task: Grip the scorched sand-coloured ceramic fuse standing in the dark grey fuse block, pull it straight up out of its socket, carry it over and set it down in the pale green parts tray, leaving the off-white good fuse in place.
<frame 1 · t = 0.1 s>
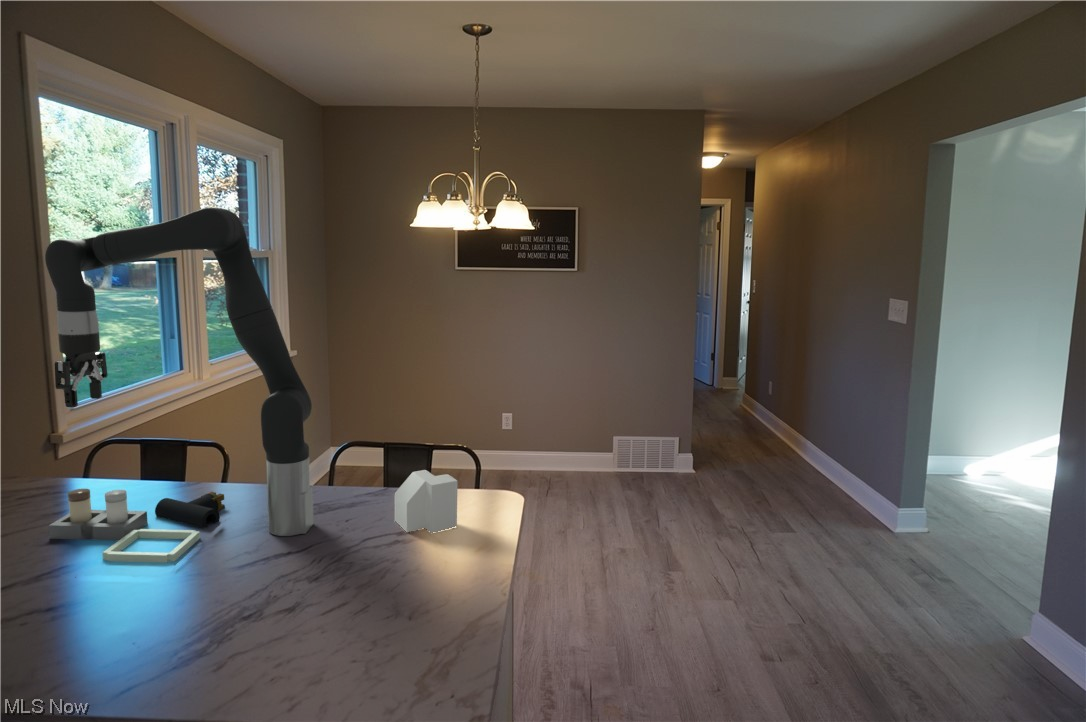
hand: (84, 402, 154), 29 cm above the kitchen island, fingers open, 8 cm apart
parts tray: (153, 552, 146), on the kitchen island
good fuse: (118, 531, 154), point 1 cm above the kitchen island, touching fuse block
blown fuse: (82, 530, 153), point 1 cm above the kitchen island, touching fuse block
pipe connector: (199, 520, 165), on the kitchen island
fuse block: (100, 534, 154), on the kitchen island
pale house-shaped block: (425, 526, 165), on the kitchen island
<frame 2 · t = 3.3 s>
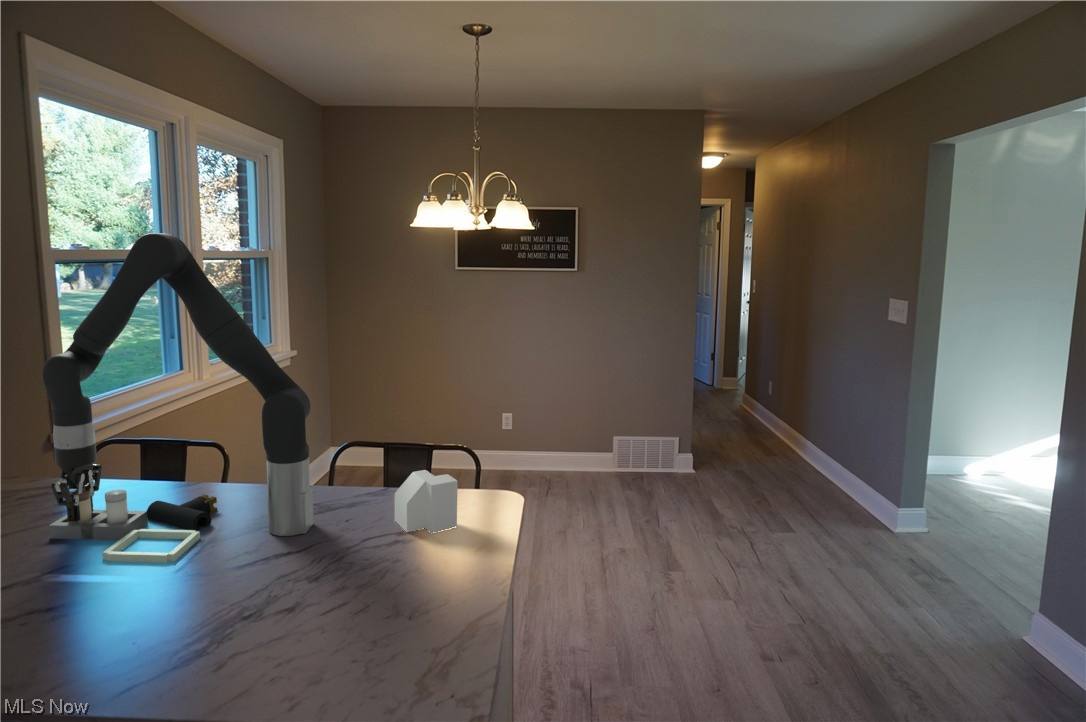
hand: (81, 516, 153), 4 cm above the kitchen island, fingers closed on blown fuse, 4 cm apart
blown fuse: (82, 530, 153), point 1 cm above the kitchen island, touching fuse block, gripper
pipe connector: (191, 523, 163), on the kitchen island
everything else where it was.
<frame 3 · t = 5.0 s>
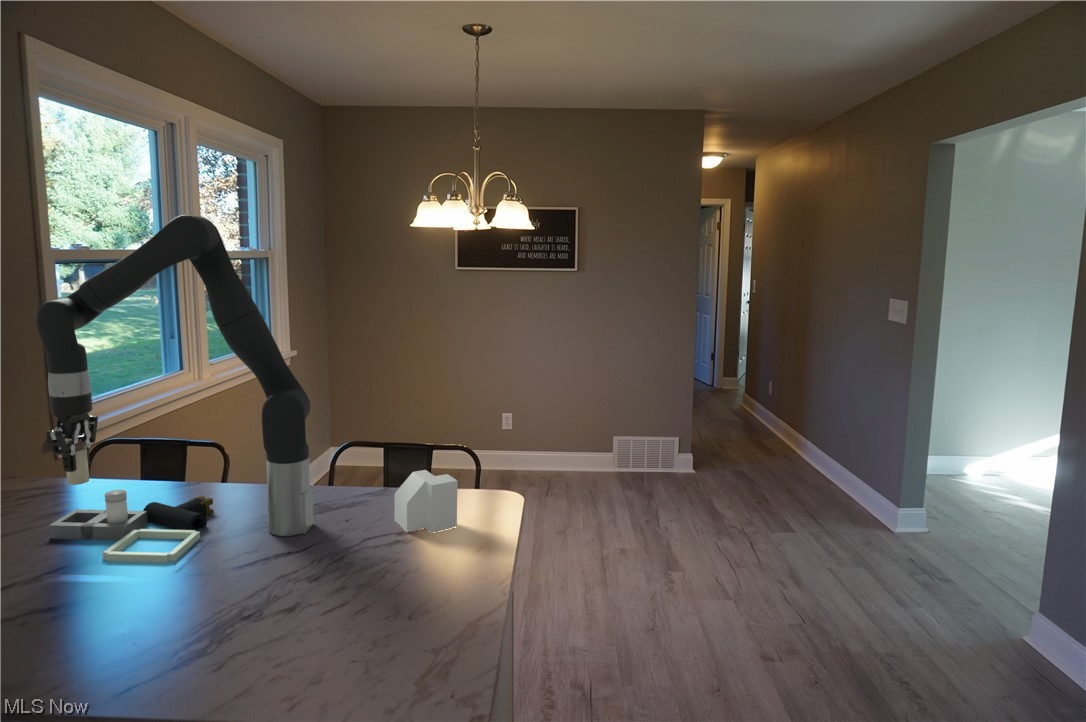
hand: (77, 467, 151), 16 cm above the kitchen island, fingers closed on blown fuse, 4 cm apart
blown fuse: (78, 481, 151), point 12 cm above the kitchen island, touching gripper
pipe connector: (187, 524, 162), on the kitchen island
everything else where it was.
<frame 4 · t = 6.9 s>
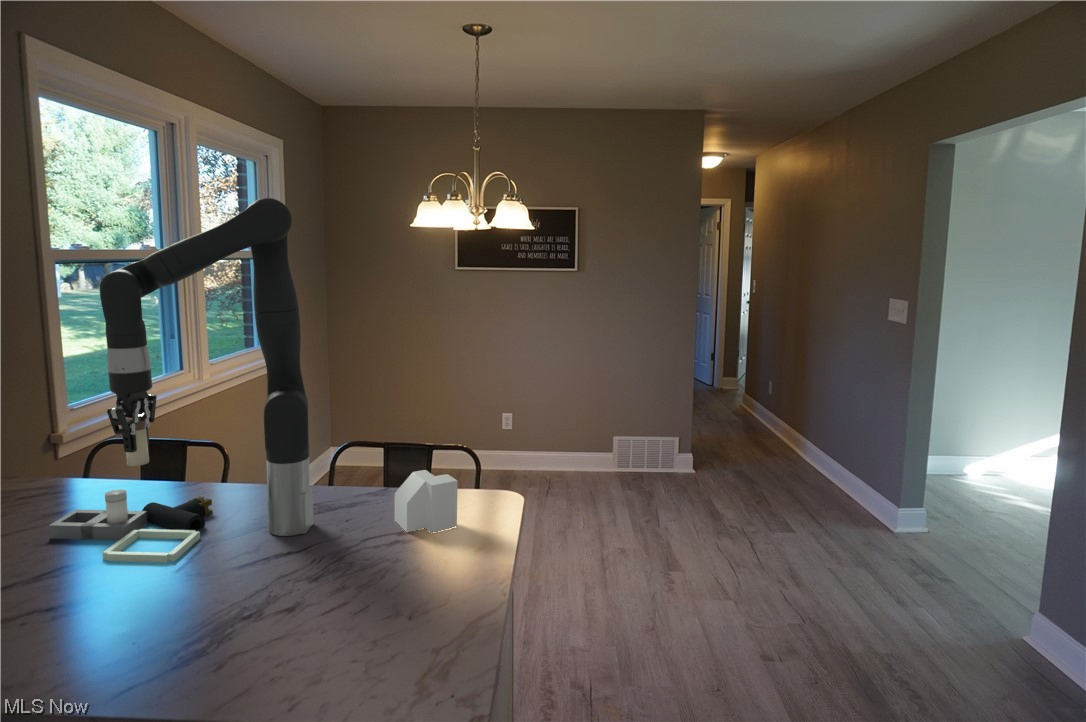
hand: (137, 448, 144), 23 cm above the kitchen island, fingers closed on blown fuse, 4 cm apart
blown fuse: (138, 462, 144), point 19 cm above the kitchen island, touching gripper
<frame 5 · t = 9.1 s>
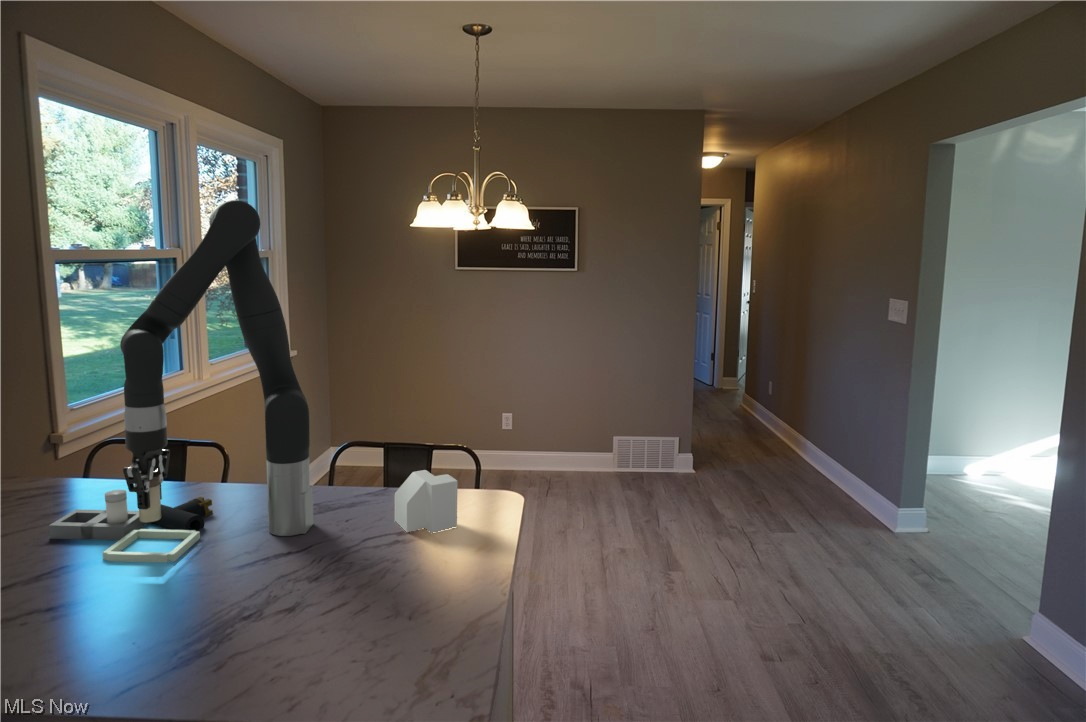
hand: (150, 504, 144), 11 cm above the kitchen island, fingers closed on blown fuse, 4 cm apart
blown fuse: (150, 518, 145), point 8 cm above the kitchen island, touching gripper
everything else where it was.
when the fingers open (6 cm above the kitchen island, at t = 10.8 s): blown fuse drops 2 cm, resting on parts tray.
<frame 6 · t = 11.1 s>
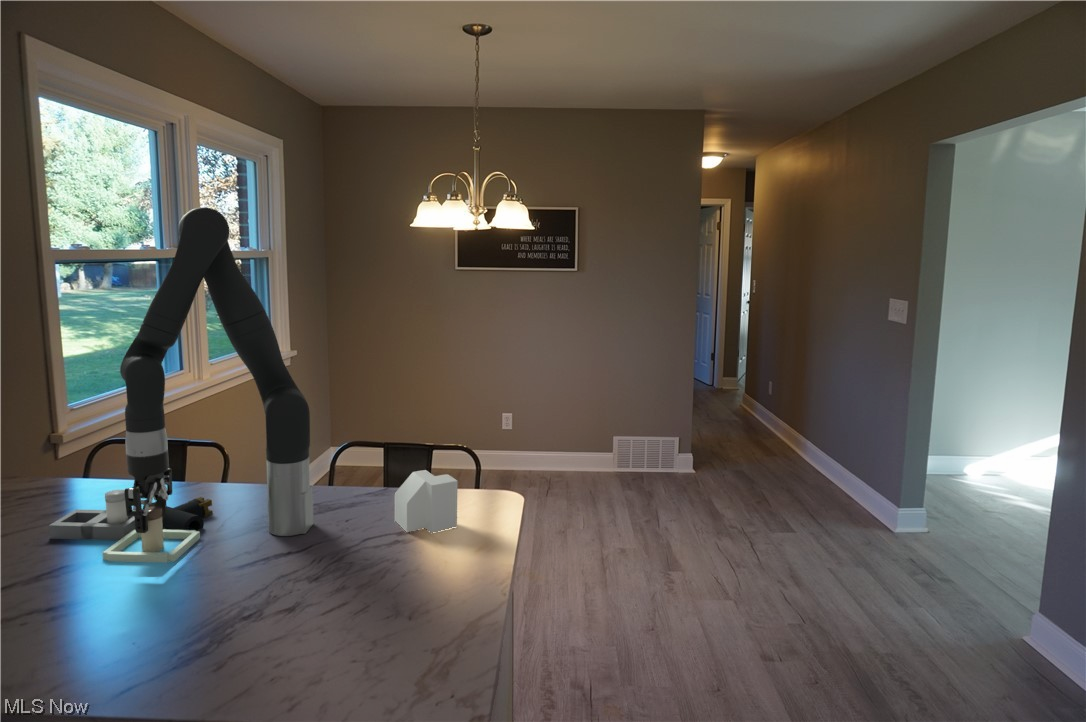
hand: (152, 524, 145), 6 cm above the kitchen island, fingers open, 7 cm apart
blown fuse: (153, 550, 146), point 1 cm above the kitchen island, touching parts tray
everything else where it was.
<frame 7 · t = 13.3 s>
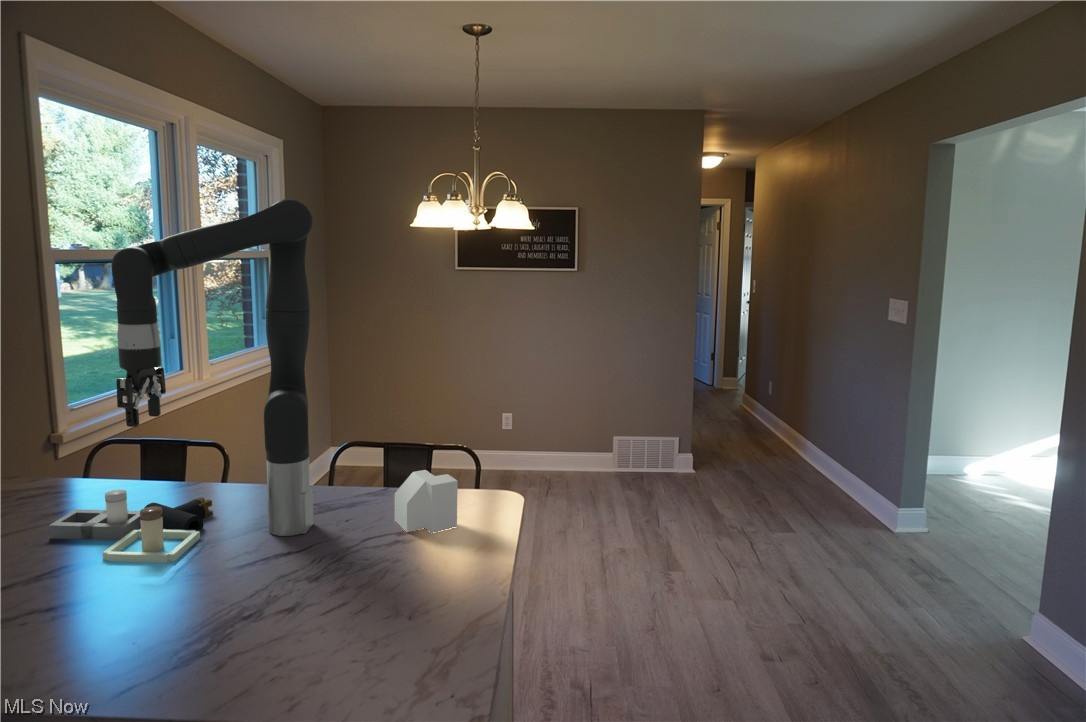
hand: (144, 421, 144), 28 cm above the kitchen island, fingers open, 8 cm apart
nothing on the kitchen island moved.
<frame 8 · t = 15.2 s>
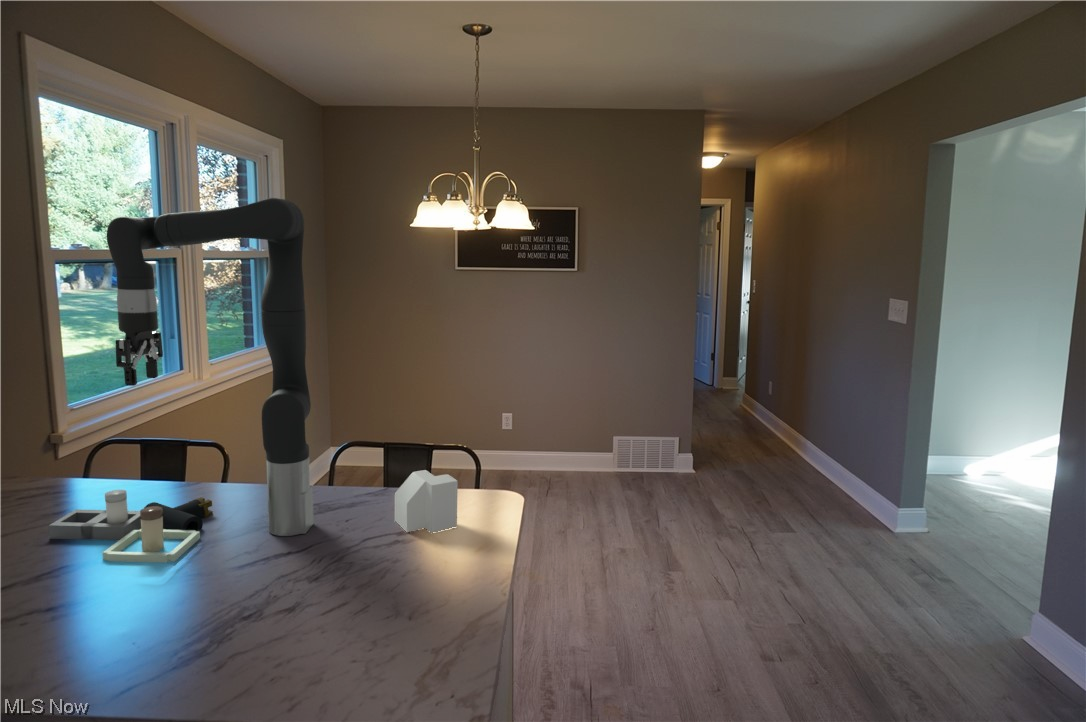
hand: (142, 381, 154), 34 cm above the kitchen island, fingers open, 8 cm apart
nothing on the kitchen island moved.
at the end: blown fuse inside the target area on the parts tray (0.1 cm from its centre), point 0.6 cm above the parts tray's base; the gripper is holding nothing; good fuse moved 0.0 cm from its start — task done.
